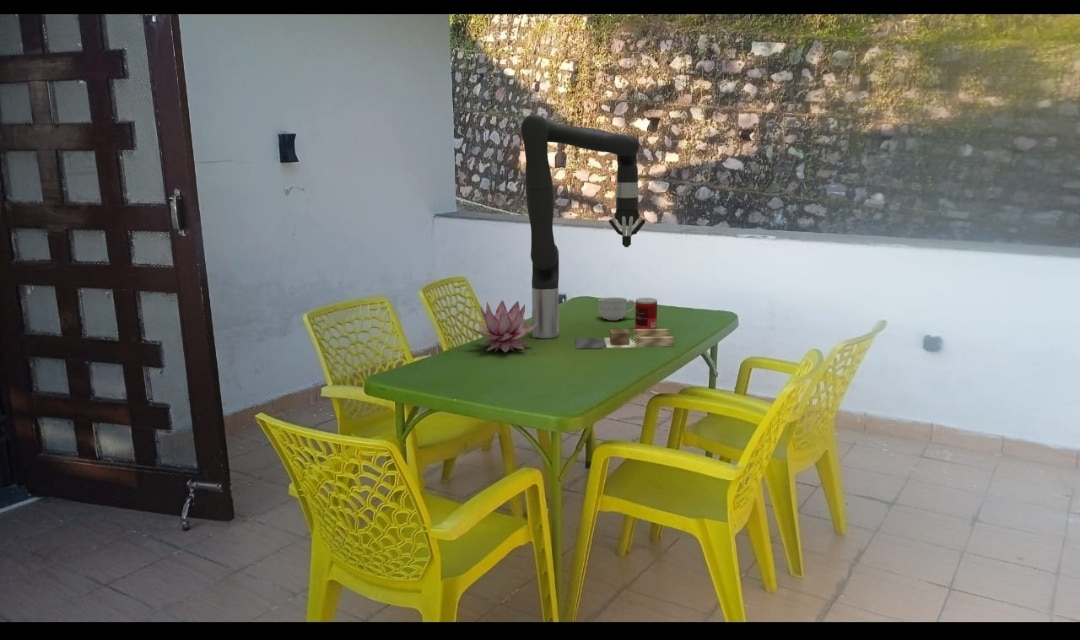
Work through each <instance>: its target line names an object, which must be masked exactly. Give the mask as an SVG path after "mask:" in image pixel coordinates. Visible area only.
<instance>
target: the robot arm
mask: <svg viewBox="0 0 1080 640" xmlns="http://www.w3.org/2000/svg"><path fill="white" fill-rule="evenodd" d="M520 134H521V136H522V137H521V138H522V142H523V146H524V147H523V148H524V154H525V173H524V174H525V176H524V177H525V178H524V179H525V197H526V198H525V199H526V206H527V214H528V220H529V224H530V232H531V233H530V235H531V241H530V242H531V243H530V260H531V262H532V263H531V265H532V273H531V307H532V309H531V322H532V324H531V325H534V324H537V325H536V326H535V327H534V329H533V330H532V331H531V332H532V333H531V334H532V338H538V339H552V338H557V337H560V327H559V326H560V318H559V317H560V316H559V315H560V314H559V313H560V312H559V311H560V310H559V306H560V305H559V304H560V303H559V302H560V301H559V299H560V298H559V279H560V271H559V270H560V265H559V264H560V261H559V260H560V256H559V255H560V253H559V249H558V246H557V245H556V243H555V238H554V230H553V227H554V226H553V225H554V224H553V222H554V212H555V211H554V209H555V196H554V185H553V178H552V171H551V167H550V163H549V155H548V154H549V153H548V143H558V144H563V145H567V146H570V147H571V146H572V147H576V148H580V149H583V150H588V151H594V152H599V153H609V154H613V155H616V160H617V171H616V186H615V187H616V188H615V213H614V216H613V217H612V218H609V219H608V224H610V225H611V227H612V228H613V229H614V230H615V232H616V233H617V234H618V235H620V236H621V242H622V243H621V244H622V246H623V247H624V248H630V246H631V245H632V236H633V235H636V234H637V233H638V232H639V231H640V230H641V228H642V227H643V226H644V224H646V219H644V218H643V217H641V216H640V213H639V170H638V169H639V168H638V165H637V163H638V162H637V161H638V152H639V150H640V142H639V140H638V138H636V137H635V136H634V135H632V134H631V135H630V134H623V133H616V132H615V133H614V132H610V131H606V130H602V129H596V128H593V127H592V128H591V127H585V126H575V125H570V124H569V125H568V124H562V123H558V122H555V121H553V120H549V119H547V118H545V117H544V116H542V115H540V114H529V115H528V116H526V117H525V118H524V119H523V121H522V122H521V123H520ZM616 223H618V224H619V225H620V226H621V230H620V229H619V228H618V226H617V225H616ZM636 223H637V225H636V226H635V227H634V228H633V226H634V225H635V224H636Z"/></svg>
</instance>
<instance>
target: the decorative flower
mask: <svg viewBox="0 0 1080 640" xmlns="http://www.w3.org/2000/svg"><path fill="white" fill-rule="evenodd" d="M525 311H526V304H524V305H523V306H522V307H521V309H520V302H519V300H518V301H516V302H515V303H514V304H513V306H512V307H511V308H510V309H509V311H508V310H507V307H506V304H505V302H504V300H501V301H500V303H499V304H498V306H497V309H496V311H495V313H494V314H495V315H494V314H493V312H492V310H491V307H490V304H489V303H488V301H487V302H486V310H485V311H484V308H483V306H480V313H481V316H482V318H483V320H484V323H485V325H484V324H483V323H482V322H481V321H480V320H477V322H478V325H479V327H480V328H481V329H482V330H484V331H485V332H482V331H479V330H476V329H475V328H472V327H471V326H469V329H470V330H472V332H475V334H478V335H481V337H483V338H485V339H488V340H486V341H485V340H484V341H483V342H485V344H482V345H480V347H486V346H489V345H490V346H489V347H488V348H487V349H486V350H485V351H486V352H488V351H491V350H494V349H495V350H494V352H497V351H498V350H499V349H501V351H503V352H504V354H505V353H507V352H508V351H509V350H511V351H513V352H514V351H515V349H518V350H525V347H524V346H527V345H530V343H529V342H526V341H523V340H521V339H520V338H523V337H524V336H526V335H527V334H528V333H530V332H532V330H533V329H534V327H535V326H536V325H537V324H534V325H532V324H531V325H529V326H525V324H526V318H524V317H525ZM524 326H525V327H524Z"/></svg>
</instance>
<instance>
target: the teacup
mask: <svg viewBox="0 0 1080 640" xmlns="http://www.w3.org/2000/svg"><path fill="white" fill-rule="evenodd" d="M629 303H632V307H630V308H629V309H627V307H628V305H629ZM635 306H636V300H634V299H627V298H625V297H615V296H610V297H602V298H598V313H599V316H600V317H601V318H604V319H603V320H605V319H607V320H606V321H620V320H619V319H621V320H622V319H623V318H624V317H625V316H627V315H628V314H629V313H630V312H632V311H634V309H635Z"/></svg>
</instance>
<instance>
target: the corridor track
mask: <svg viewBox="0 0 1080 640" xmlns="http://www.w3.org/2000/svg"><path fill="white" fill-rule="evenodd" d="M632 337H633V339H637V343H636V342H635V341H633V340H631V339H630V338H629V345H611V343H610V337H575V338H574V343H575V349H576V350H600V349H601V350H602V349H612V348H614V349H616V348H618V349H621V348H623V349H624V348H628V349H629V348H661V347H660V346H674V345H675V341H674V340H675V338H674V336H672V335H671V336H670V329H669V328H656V329H636V328H635V329H634V328H633V330H632ZM632 337H631V338H632ZM632 341H633V342H632ZM634 342H635V343H634ZM658 346H659V347H658Z"/></svg>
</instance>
